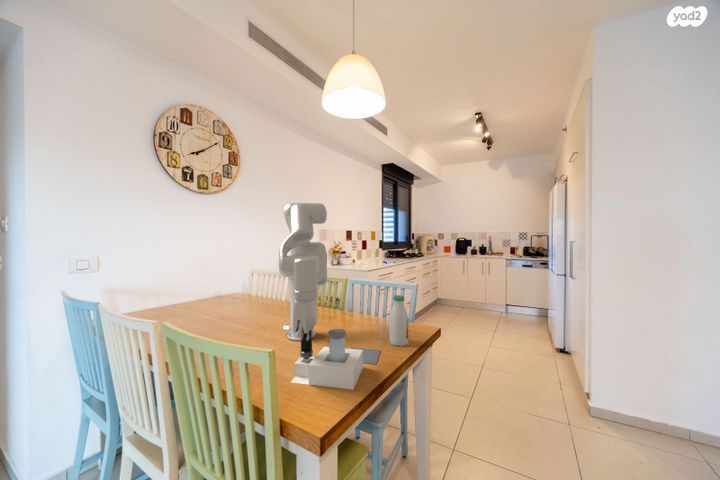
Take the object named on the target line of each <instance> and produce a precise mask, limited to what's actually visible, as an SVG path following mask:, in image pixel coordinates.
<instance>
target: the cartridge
mask: <svg viewBox="0 0 720 480" xmlns="http://www.w3.org/2000/svg"><path fill="white" fill-rule="evenodd" d="M327 333H328V334H327V337H328V339H329V341H328V343H329V344H328V345H329V346H328V347H329V361H330V362H341V363H345V349H346V336H347V334H346V333H347V331H346V329H343V328H333V329H330V330H328V332H327Z"/></svg>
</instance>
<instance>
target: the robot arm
mask: <svg viewBox="0 0 720 480" xmlns="http://www.w3.org/2000/svg"><path fill="white" fill-rule="evenodd" d="M283 214H284V219H285V223H286V225H287V228H288V230H289V235H287V237H286V238H284V240H283V241H282V243H281V245H280V246H279V250H278V271H279V274H280V276H281V277H284V278H287V280H288V287H289V302H290V303H289V304H290V305H289V308H290V313H289V314H290V316H289V318H290V325H288V324H287V325H286V324H284V325H283V327H282V331H284V332H287V334H286V337H287V339H289V340H290V341H296V342H297V341H298V342H299V341H300V351H302V352H310V351H311V350H313V338H314V337H316V331H315V330H314V328H315V327H316V326H317V324H318V307H317V301H318V288H319V287H324V286H326V284H327V282H328V267H327V266H328V264H327V262H328V261H327V249H326V246H325V244H324V243H323V242H319V241H316V242H315V241H312V239H313V238H314V235H315V234H314V233H315V232H314V224H317V225H320V224H321V225H322V224H323V225H324V224H325V223H326V221H327V218H328V217H327V216H328V213H327V208H326V206H325V205H324V203H321V202H320V203H317V202H311V203H309V202H291V203H288V204H285V206H284V208H283ZM289 252H290V255H288V253H289Z"/></svg>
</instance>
